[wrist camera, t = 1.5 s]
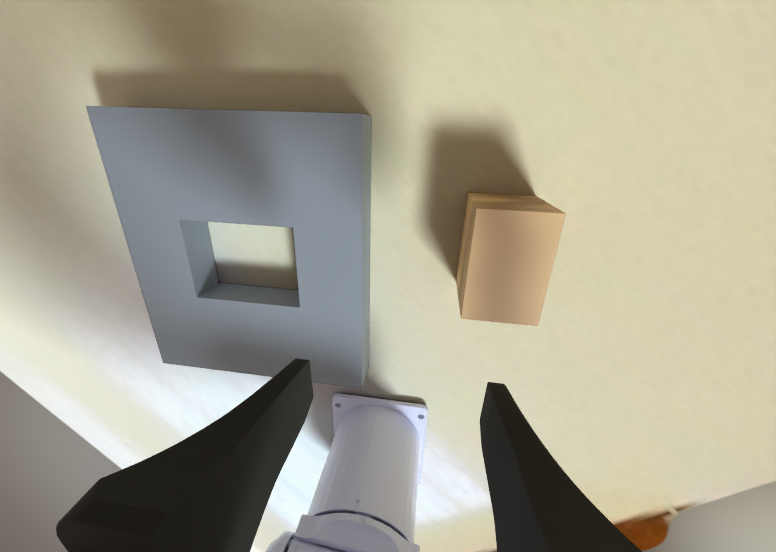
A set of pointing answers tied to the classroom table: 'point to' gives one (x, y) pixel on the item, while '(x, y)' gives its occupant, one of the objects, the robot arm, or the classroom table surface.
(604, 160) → the classroom table surface
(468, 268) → the oak key block
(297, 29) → the classroom table surface
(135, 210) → the keyed pocket board
